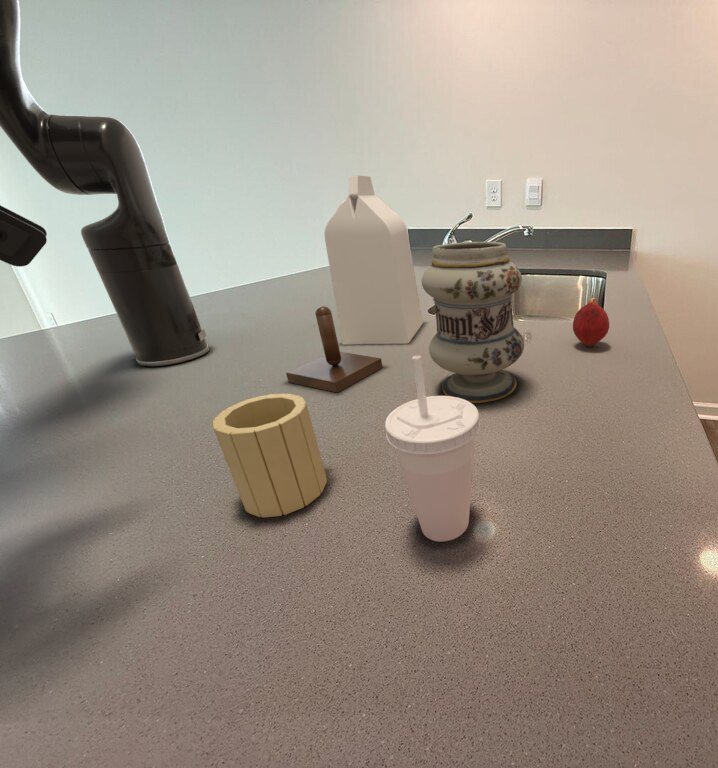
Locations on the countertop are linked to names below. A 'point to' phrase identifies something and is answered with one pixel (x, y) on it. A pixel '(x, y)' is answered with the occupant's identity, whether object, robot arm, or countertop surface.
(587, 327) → the onion
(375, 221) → the milk
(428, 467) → the smoothie
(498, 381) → the apothecary jar
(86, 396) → the countertop surface
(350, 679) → the countertop surface
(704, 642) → the countertop surface
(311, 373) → the stand
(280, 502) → the wooden slatted cup
